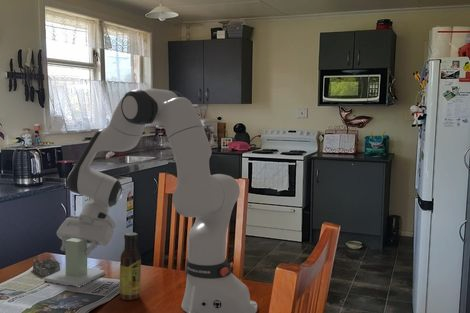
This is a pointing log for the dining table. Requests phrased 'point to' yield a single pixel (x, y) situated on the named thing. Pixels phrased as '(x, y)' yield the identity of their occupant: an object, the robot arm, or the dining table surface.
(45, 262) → the mossy rock
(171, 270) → the dining table surface
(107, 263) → the dining table surface
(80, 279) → the tile
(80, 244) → the sage block
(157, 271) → the dining table surface
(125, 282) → the sauce bottle
